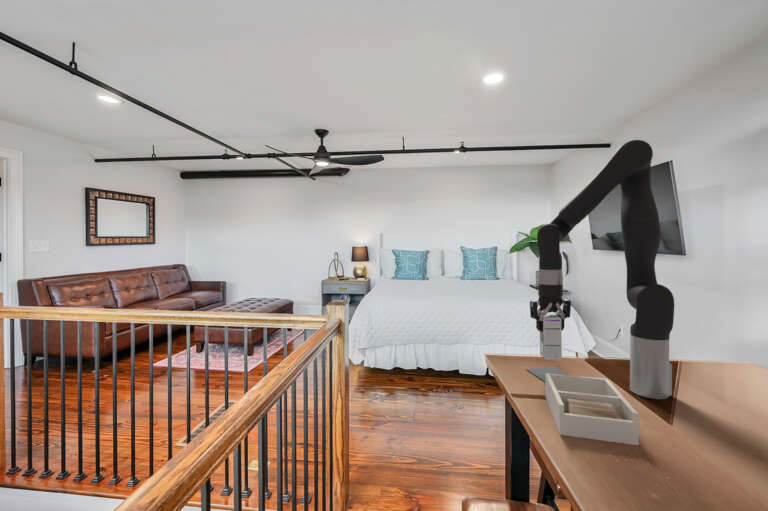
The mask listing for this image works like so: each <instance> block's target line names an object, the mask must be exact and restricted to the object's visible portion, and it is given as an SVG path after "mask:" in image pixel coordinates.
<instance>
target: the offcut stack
mask: <svg viewBox="0 0 768 511" xmlns="http://www.w3.org/2000/svg"><path fill="white" fill-rule="evenodd" d="M567 407H568V408H567V413H570V414H579V415H588V416H596V417H605V418H613V419H622V418H621V417H620V416H619V415H618V414H617V413H616V411H615V409H614V408H613V406H612V405H611V404H606V403H598V402H590V401H582V400H574V399H567ZM622 420H623V419H622Z"/></svg>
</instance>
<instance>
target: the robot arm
mask: <svg viewBox="0 0 768 511" xmlns="http://www.w3.org/2000/svg"><path fill="white" fill-rule="evenodd" d="M653 155H654V152H653V149H652V146H651V144H650V143H649V142H646V141H645V140H642V139H631V140H629V141H626V142H625V143H623V144H622V145H620V146H619V147H618V148H617V150H616V151H615V153H614V154H613V155H612V157H611V158H610V159H609V161H608V162H607V163H606V165H605V166H604V167H603V168H602V169H601V170H600V172H598V174H597V175H596V176H595V177H594V178H593V179H592V180H591V181H590V182H589V183H588V184H586V185H585V186H584V187H583V188H582V189H581V190H580V191H579V192H578V193H577V194H576V195H575V196H574V197H573V198H572V199H570V200H569V202H567V203H565V205H564V206H563V207H562V208H561V209H560V211H559V212H558V215H557V216H556V217H555V218H554V219H553V220H552V221H551V222H549V223H546V224H542V225H541V226H540V227H539V229H538V230H537V235H536V242H537V248H538V249H537V250H538V254H539V257H538V275H537V277H538V279H537V281H538V284H537V288H538V290H537V291H538V292H537V294H538V299H537V300H530V301H529V311H530V312H529V313H530V318H532V319H534V320H535V322H536V324H535V326H536V330H537V332H539V333H540V332H543V321H542V320H543V318H544V316H545V315H547V314H551V313H555V314H554V315H557V316H559V317H560V318H561V332H562V331H564V329H565V320H566V319H568V318H571V311H572V310H571V305H572V301H571V300H569V299H565V298H564V299H563V296H564V290H563V288H564V287H563V286H564V285H563V284H564V283H563V282H564V276H563V257H562V254H561V252H560V250H561V249H560V248H561V246H560V245H561V244H560V242H562V241H563V240H564V239H565V238H566V236H568V235H569V233H571V231H572V230H573V229H574V228H575V227H576V226H577V225H579V224H580V223H581V222H582V221H583V220H584V219H585V218H587V217H588V215H590V213H591V214H592V212H593V211H594V210H595V209H596V208H597V207H598V206H599V205H600V204H601V203H602V202H603V200H604V199H605V198H606V197H607V196H608V195H609V194H610V193H611V192H612V191H613V190H614V189H615V188H616V187H618V186H619V185H620V191H621V192H620V193H621V199H620V200H621V201H620V225H621V226H620V227H621V228H620V229H621V236H622V243H623V249H624V250H623V251H624V258H625V264H626V299H627V302H628V303H629V305H630V306H631V307H632V308H633V309H634V310H635V321H634V323H632V324H631V325H630V330H629V333H630V338H629V339H630V340H629V343H630V344H629V345H630V346H629V347H630V349H629V351H630V352H629V354H630V355H629V390H630V391H631V393H634V394H636V395H638V396H640V397H644V398H647V399H652V400H653V399H654V400H666V399H668V398H669V397H670V396H671V397H672V396H673V394H672V393H673V392H672V391H673V386H672V385H673V382H672V381H673V365H672V363H671V362H670V336H671V335H670V334H671V332H672V331H673V328H674V317H675V297H674V295H673V293H672V291H671V290H670V288H668V287H667V286H666V285H662V284H660V283H658V280H657V275H656V269H655V268H656V267H655V264H656V263H655V262H656V258H657V254H658V251H659V248H660V244H661V238H662V236H661V235H662V232H661V226H660V225H661V224H660V223H661V222H660V216H659V210H658V207H657V204H656V201H655V197H654V194H653V191H652V186H651V184H652V183H651V169H652V168H651V167H652V166H651V165H652V159H653Z"/></svg>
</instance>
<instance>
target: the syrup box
mask: <svg viewBox="0 0 768 511" xmlns="http://www.w3.org/2000/svg"><path fill="white" fill-rule="evenodd" d="M542 321H543V332H540V331H539V354H540V356H541V357H542V359H544V360H546V361H562V358H563V356H562V354H563V353H562V352H563V351H562V349H563V347H562V346H563V344H562V342H563V341H562V338H563V337H562V331H561V318H560V317H559V316H557V315H556V314H552V313H547V315H545V316H544V318H543V320H542Z"/></svg>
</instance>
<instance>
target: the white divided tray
mask: <svg viewBox="0 0 768 511" xmlns="http://www.w3.org/2000/svg"><path fill="white" fill-rule="evenodd" d="M544 383H545V392H544V394H545V399H546V402H547V405H548V407H549V410H550V413H551V415H552V418H553V421H554V423H555V426H556V428H557V430H558V434H559V435H560V436H567V437H574V438H579V439H580V438H582V439H589V440H595V441H601V442H602V441H603V442H604V441H605V442H611V443H616V444H617V443H619V444H624V445H633V446H639V445H640V423H639V413H638V412H637V410H636V409H635V408H634V407H633V405H632V404H630V403H629V402H628V400H627V399H626V398H625V396H623V395H622V394H621V392H620V391H619V390H618V389H617V388H616V386H614V384H613V383H612V382H611V381H610V380H609V378H605V377H604V378H603V377H594V376H584V375H583V376H581V375H572V374H568V375H560V374H549V373H545V382H544ZM567 399H574V400H582V401H590V402H598V403H606V404H611V405H612V406H613V408H614V409H615V411H616V413H617V414H618V415H619V416H620V417H621V418H622V419H623V420H622V419H613V418H605V417H596V416H588V415H579V414H570V413H567V408H568V407H567Z"/></svg>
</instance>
